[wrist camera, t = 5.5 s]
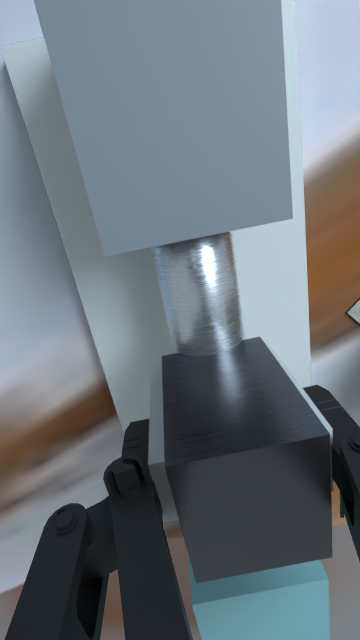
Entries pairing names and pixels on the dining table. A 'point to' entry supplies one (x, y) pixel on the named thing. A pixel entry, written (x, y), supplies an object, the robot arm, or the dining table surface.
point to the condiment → (355, 311)
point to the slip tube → (235, 427)
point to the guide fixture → (179, 207)
